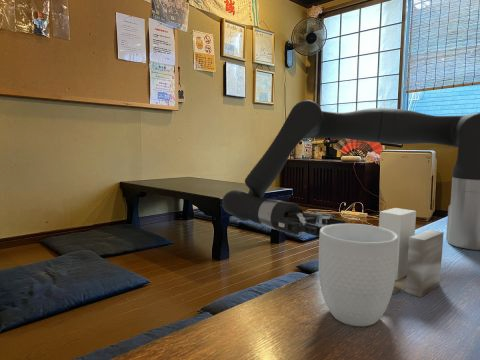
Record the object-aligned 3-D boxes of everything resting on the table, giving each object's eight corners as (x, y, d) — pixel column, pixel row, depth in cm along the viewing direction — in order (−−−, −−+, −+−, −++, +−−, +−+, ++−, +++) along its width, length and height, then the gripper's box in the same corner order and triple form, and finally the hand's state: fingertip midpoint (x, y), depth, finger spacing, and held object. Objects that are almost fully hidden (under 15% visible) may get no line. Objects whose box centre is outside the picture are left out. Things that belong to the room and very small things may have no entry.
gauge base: (341, 275, 67) (343, 226, 66) (369, 264, 74) (371, 218, 73) (414, 301, 57) (417, 242, 56) (439, 285, 63) (443, 232, 62)
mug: (362, 288, 62) (366, 217, 60) (423, 314, 53) (429, 231, 51) (301, 310, 54) (303, 228, 52) (360, 345, 45) (365, 247, 43)
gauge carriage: (366, 278, 63) (369, 214, 62) (392, 266, 69) (395, 207, 68) (387, 285, 60) (391, 218, 59) (412, 272, 66) (416, 211, 65)
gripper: (259, 204, 83) (313, 216, 71) (298, 198, 92) (352, 208, 80) (259, 234, 84) (312, 251, 72) (298, 225, 93) (350, 239, 81)
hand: (333, 228), depth 76 cm, fingers open, 8 cm apart
